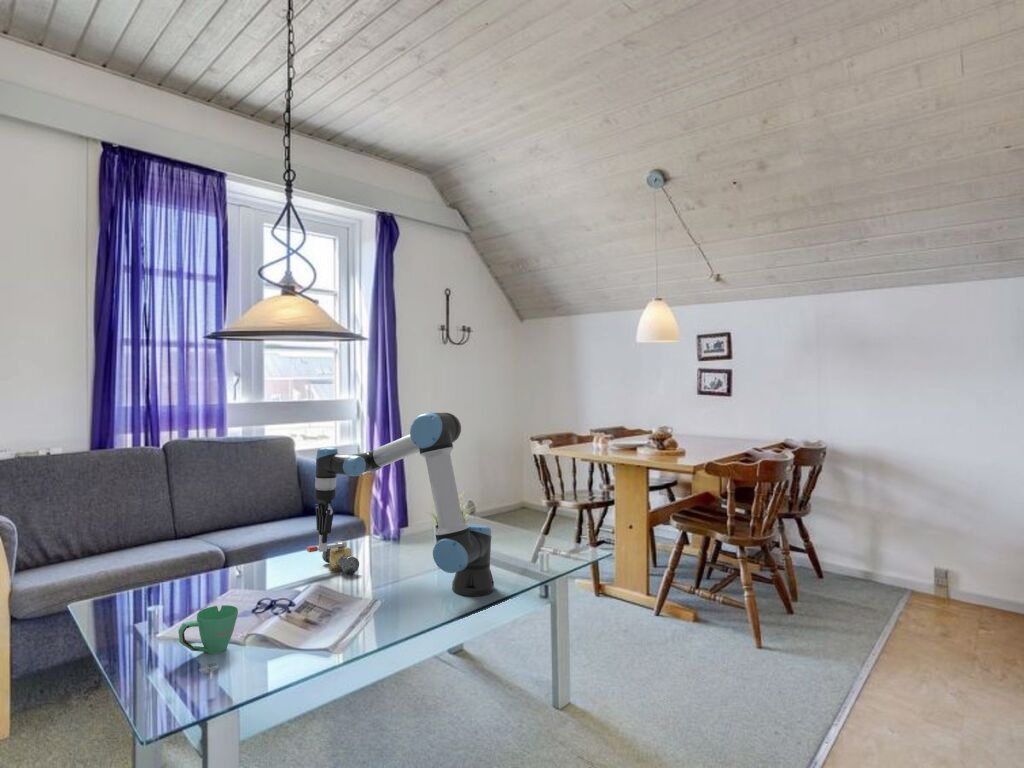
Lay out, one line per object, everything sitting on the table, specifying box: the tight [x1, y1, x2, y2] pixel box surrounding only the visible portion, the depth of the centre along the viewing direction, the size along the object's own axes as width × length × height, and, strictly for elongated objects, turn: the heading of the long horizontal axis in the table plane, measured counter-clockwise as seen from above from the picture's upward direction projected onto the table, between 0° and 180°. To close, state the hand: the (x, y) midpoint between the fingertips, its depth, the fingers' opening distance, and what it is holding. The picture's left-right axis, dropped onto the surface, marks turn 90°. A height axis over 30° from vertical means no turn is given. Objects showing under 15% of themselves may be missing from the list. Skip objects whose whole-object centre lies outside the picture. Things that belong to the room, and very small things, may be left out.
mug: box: [178, 604, 239, 655], centre depth 151 cm, size 15×10×10 cm
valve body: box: [321, 546, 360, 576], centre depth 225 cm, size 20×8×8 cm, turn 41°
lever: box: [306, 540, 348, 553], centre depth 222 cm, size 15×4×2 cm, turn 131°
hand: (322, 550), depth 218 cm, fingers closed
